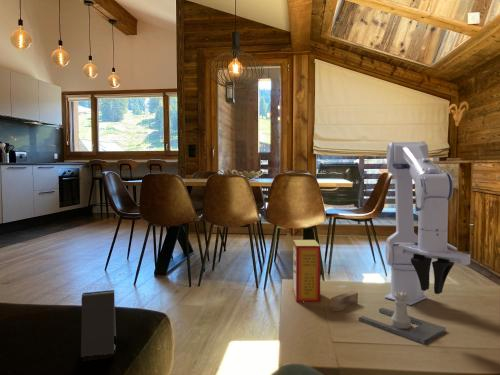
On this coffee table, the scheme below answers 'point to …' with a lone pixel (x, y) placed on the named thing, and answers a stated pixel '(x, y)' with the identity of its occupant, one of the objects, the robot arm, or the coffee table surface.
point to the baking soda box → (306, 270)
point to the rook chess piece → (401, 311)
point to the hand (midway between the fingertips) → (431, 291)
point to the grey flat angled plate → (418, 334)
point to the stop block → (344, 301)
